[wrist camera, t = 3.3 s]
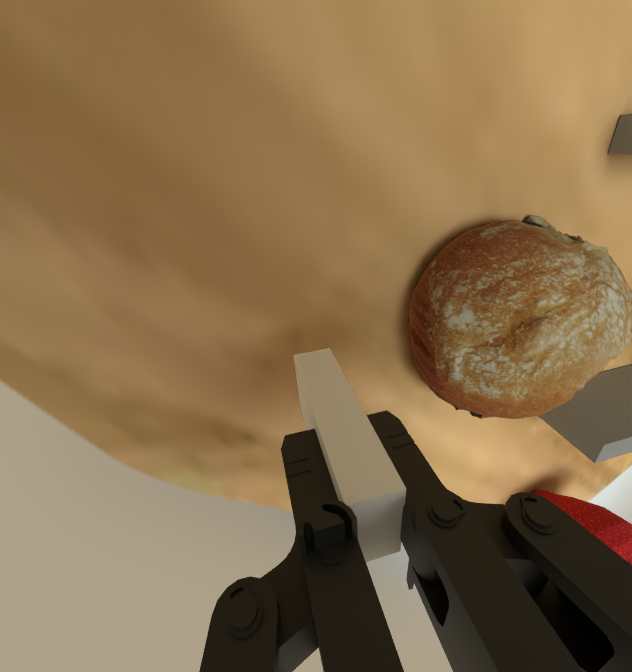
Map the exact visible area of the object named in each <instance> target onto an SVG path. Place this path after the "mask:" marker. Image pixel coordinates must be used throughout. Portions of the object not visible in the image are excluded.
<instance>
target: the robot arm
mask: <svg viewBox="0 0 632 672" xmlns="http://www.w3.org/2000/svg"><path fill="white" fill-rule="evenodd" d="M293 356H294V364H295V371H296V379H297V386H298V394H299V402H300V408H301V411H302V415H303V418H304V421H305V425H306V428H307V431H302V432H298V433H294V434H290V435H286V436H285V437H284V441H283V444H282V448H281V452H282V457H283V463H284V468H285V473H286V479H287V484H288V489H289V494H290V500H291V505H292V510H293V515H294V520H295V525H296V536H295V542H294V544H293V547H292V549H291V552H290V553H289V554H288V556H287V557H286V558H285V559H284V560H283V561H282V562H281V563H280V564H279V565H278V566H276V567H275V568H274V569H272V570H271V571H270V572H268V573H267V574H266V575H264V576H263V577H262V578H255V577H247V578H243V579H239V580H237V581H236V582H234V583H233V584H232V585H230V586H229V587H227V589H226V590H225V591H224V592H223V594H222V595H221V596H220V598H219V599H218V600H217V603H216V606H215V609H214V611H213V614H212V617H211V622H210V626H209V631H208V636H207V640H206V644H205V649H204V654H203V658H202V663H201V667H200V672H292V671H293V670H294V669H296V667H298V666H299V665H300V664H301V663H302V662H303V661H304V660H305V659H306V658H307V657H309V656H310V655H311V654H312V653H313V652H314V651H315V650H316V649H317V648H318V647H319V651H320V655H321V661H322V666H323V671H324V672H404V671H403V668H402V665H401V662H400V659H399V656H398V653H397V650H396V648H395V645H394V642H393V639H392V636H391V633H390V630H389V628H388V625H387V622H386V619H385V616H384V613H383V610H382V608H381V605H380V602H379V599H378V596H377V593H376V590H375V587H374V585H373V582H372V579H371V576H370V573H369V570H368V567H367V565H366V562H367V561H371V560H374V559H377V558H380V557H383V556H386V555H389V554H392V553H396V552H399V551H400V548H401V541H402V543H403V546H404V548H405V550H406V552H407V554H408V556H409V563H408V572H407V583H408V587H409V590H410V589H412V588H413V584H415V586H416V588H417V590H418V592H419V595H420V597H421V599H422V602H423V604H424V606H425V608H426V611H427V613H428V615H429V617H430V620H431V622H432V624H433V627H434V629H435V631H436V633H437V636H438V638H439V640H440V643H441V645H442V647H443V649H444V652H445V654H446V656H447V658H448V661H449V663H450V665H451V668H452V670H453V672H632V565H631V564H630V563H628V562H627V561H626V560H625V559H623V558H622V557H621V556H620V555H618V554H617V553H616V552H615V551H613V550H612V549H611V548H610V547H608V546H607V545H606V544H605V543H603V542H602V541H601V540H599V539H598V538H597V537H596V536H594V535H593V534H592V533H591V532H589V531H588V530H587V529H586V528H584V527H583V526H582V525H581V524H579V523H578V522H577V521H576V520H574V519H573V518H572V517H570V516H569V515H568V514H567V513H565V512H564V511H563V510H562V509H560V508H559V507H558V506H557V505H555V504H554V503H552V502H551V501H549V500H547V499H546V498H544V497H542V496H539V495H536V494H533V493H524V492H520V493H517V494H514V495H511V497H510V498H509V499H508V501H507V502H506V505H503V504H484V503H474V502H469V501H466V500H463V499H462V498H461V497H459V496H458V495H456V494H454V493H452V492H451V491H449V490H447V489H446V488H445V486H444V485H443V484H442V483H441V481H440V480H439V478H438V477H437V475H436V474H435V472H434V471H433V469H432V468H431V466H430V465H429V463H428V462H427V460H426V459H425V457H424V456H423V454H422V453H421V451H420V450H419V448H418V447H417V445H416V444H415V443H414V441H413V439H412V438H411V436H410V435H409V434H408V431H407V430H406V428H405V427H404V425H403V424H402V422H401V421H400V419H398V418H397V417H395V416H394V415H393V414H391V413H390V412H388V411H383V412H378V413H374V414H370V415H366V414H365V412H364V410H363V408H362V406H361V405H360V403H359V401H358V399H357V397H356V395H355V393H354V392H353V390H352V388H351V386H350V384H349V382H348V381H347V379H346V377H345V375H344V373H343V371H342V370H341V368H340V366H339V364H338V362H337V360H336V359H335V357H334V355H333V353H332V351H331V349H330V348H327V349H322V350H316V351H311V352H306V353H301V354H296V355H293Z"/></svg>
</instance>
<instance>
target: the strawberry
mask: <svg viewBox="0 0 632 672" xmlns="http://www.w3.org/2000/svg"><path fill="white" fill-rule="evenodd" d="M533 494H536V495H539V496H542V497H544V498H546V499H547V500H549V501H551V502H552V503H554V504H555V505H557V506H558V507H559V508H560V509H562V510H563V511H564V512H565V513H567V514H568V515H569V516H570V517H572V518H573V519H574V520H576V521H577V522H578V523H579V524H581V525H582V526H583V527H584V528H586V529H587V530H588V531H589V532H591V533H592V534H593V535H594V536H596V537H597V538H598V539H599V540H601V541H602V542H603V543H605V544H606V545H607V546H608V547H610V548H611V549H612V550H613V551H615V552H616V553H617V554H618V555H620V556H621V557H622V558H623V559H625V560H626V561H627V562H628V563H630V564H631V565H632V524H631V523H629V522H627V521H625V520H624V519H622V518H621V517H619V516H617V515H616V514H614V513H612V512H611V511H609V510H607V509H606V508H604V507H601V506H598V505H594V504H592V503H589V502H586V501H583V500H579V499H576V498H573V497H568V496H563V495H558V494H554V493H550V492H547V491H542V490H540V491H536V492H534V493H533Z"/></svg>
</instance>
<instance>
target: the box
mask: <svg viewBox="0 0 632 672" xmlns="http://www.w3.org/2000/svg"><path fill="white" fill-rule="evenodd" d="M608 154H632V114H627V115H621V116H620V119H619V122H618V125H617V128H616V131H615V134H614V137H613V140H612V143H611V146H610V150H609V153H608ZM538 416H539V417H540V418H541V419H542V420H544V421H545V422H546V423H547V424H548V425H550V426H551V427H552V428H553V429H554V430H556V431H557V432H558V433H559V434H560V435H562V436H563V437H564V438H565V439H566V440H568V441H569V442H570V443H571V444H572V445H574V446H575V447H576V448H577V449H578V450H580V451H581V452H582V453H583V454H584V455H586V456H587V457H588V458H589V459H590V460H592V461H593V462H594V463H597V462H600V461H604V460H607V459H610V458H614V457H617V456H620V455H624V454H627V453H630V452H632V365H628V366H624V367H620V368H616V369H612V370H608V371H604V372H600V373H598V374H597V375H596V376H595V377H593V378H592V379H590V380H589V381H587V382H586V384H585V386H584V387H583V389H582V390H579V391H576V393H575V394H574V396H573V398H571V399H570V400H569V401H568V402H566V403H564V404H562V405H559V406H557V407H554V408H553V409H552V410H550V411H548V412H546V413H544V414H542V415H538Z"/></svg>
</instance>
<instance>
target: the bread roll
mask: <svg viewBox="0 0 632 672" xmlns="http://www.w3.org/2000/svg"><path fill="white" fill-rule="evenodd" d="M409 313H410V314H409V319H408V320H409V324H410V327H409V335H410V343H411V352H412V358H413V360H414V362H415V363H416V367H417V370H418V373H419V375H420V377H421V379H422V380H423V381H424V382H425V383H426V384H427V385H428V386H429V388H430V389H431V390H432V391H433V392H434V393H435V394H436V395H437V396H438V397H439V398H441V399H442V400H444V401H446V402H448V403H450V404H451V405H453V406H454V407H455V408H456V410H458V409H461V410H462V409H463V410H466V411H470V414H471V415H472V416H476V417H478V418H481V419H482V418H487V417H501V418H510V419H518V418H525V417H531V416H538V415H542V414H544V413H546V412H548V411H550V410H552V409H553V408H554V407H557V406H559V405H562V404H564V403H566V402H568V401H569V400H570V399H571V398H573V396H574V394H575V393H576V391H579V390H582V389H583V387H584V386H585V384H586V382H587V381H589V380H590V379H592V378H593V377H595V376H596V375H597V374H598V373H599V372H600V371H601V370H602V369H603V368H604V367H605V366H606V365H607V364H608V362H609V361H611V360H613V359H615V358H616V357H617V356H618V355H619V354H620V353H621V351H622V350H623V349H624V348H625V347H626V346H627V345H628V344H629V341H630V340H631V338H632V291H631V289H630V287H629V285H628V284H627V282H626V280H625V278H624V276H623V274H622V272H621V270H620V269H619V267H618V266H617V265H616V263H615V262H614V260H613V259H612V257H611V256H609V254H608V250H607V248H606V247H598V246H595V245H593V244H590V243H588V242H587V241H583V239H582V238H581V237H580V236H579V235H578V236H577V237H575V236H570V235H567V234H562V233H561V232H559V231H556V230H555V228H554V226H551V224H550V223H549V222H547V221H546V220H545V219H544V218H542V217H540V216H530V217H529V218H528V220H527V221H519V220H518V221H514V220H509V221H494V222H492V223H489V224H487V225H484V226H481V227H479V228H475V229H471V230H468V231H466V232H465V233H463V234H461V235H459V236H458V237H457V238H455V239H454V240H453V241H451V242H450V243H449V244H448V245H446V246H445V247H444V248H443V249H442V250H441V251H440V252H439V253H438V254H437V255H436V256H435V257H434V258H433V260H432V261H431V262H430V264H429V265H428V266H427V268H426V269H425V271H424V273H423V274H422V276H421V278H420V279H419V281H418V283H417V284H416V286H415V289H414V291H413V294H412V297H411V299H410V302H409Z"/></svg>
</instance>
